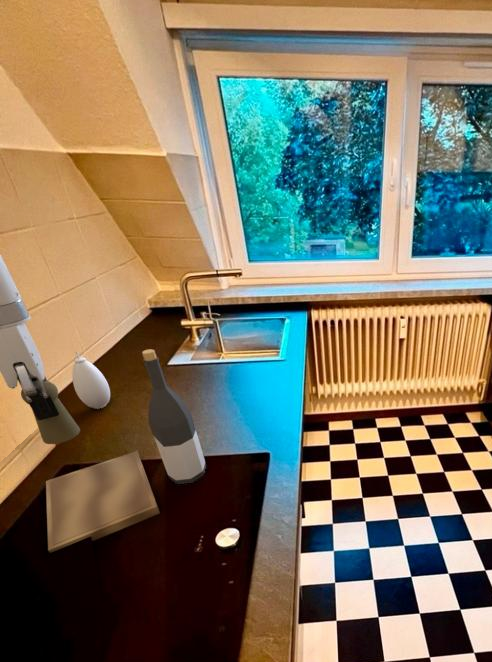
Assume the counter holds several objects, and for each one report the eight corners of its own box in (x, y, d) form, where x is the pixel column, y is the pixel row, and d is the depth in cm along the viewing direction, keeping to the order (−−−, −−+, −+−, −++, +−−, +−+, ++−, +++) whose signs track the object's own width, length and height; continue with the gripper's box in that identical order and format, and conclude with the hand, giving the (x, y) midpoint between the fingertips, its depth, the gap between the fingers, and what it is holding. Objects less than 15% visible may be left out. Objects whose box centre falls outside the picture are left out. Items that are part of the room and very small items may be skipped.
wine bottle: (211, 477, 87) (175, 353, 70) (173, 490, 83) (125, 364, 67) (202, 457, 92) (167, 339, 76) (166, 469, 89) (121, 348, 73)
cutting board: (53, 557, 69) (47, 550, 68) (49, 487, 84) (45, 480, 83) (160, 513, 78) (157, 506, 77) (139, 457, 93) (137, 450, 92)
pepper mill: (81, 423, 78) (58, 374, 72) (78, 438, 73) (53, 388, 67) (45, 430, 76) (18, 381, 70) (40, 447, 71) (10, 395, 65)
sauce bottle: (80, 407, 112) (53, 350, 102) (109, 397, 117) (86, 341, 107) (91, 417, 108) (63, 358, 98) (120, 406, 113) (97, 348, 103)
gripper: (-28, 304, 65) (24, 397, 75) (-40, 334, 54) (22, 439, 64) (27, 297, 69) (69, 386, 79) (26, 323, 57) (76, 424, 67)
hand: (48, 409), depth 71 cm, fingers closed on pepper mill, 5 cm apart
